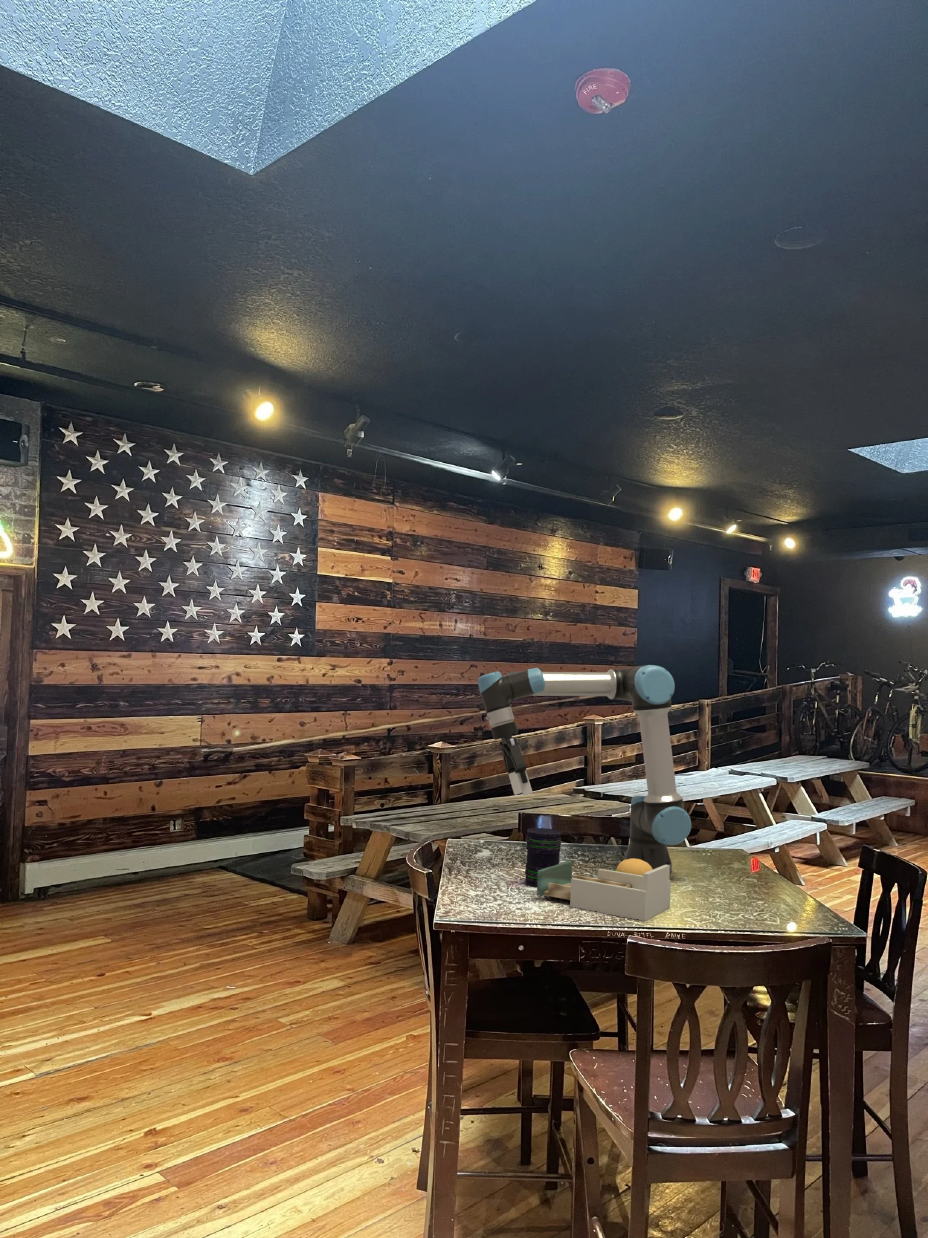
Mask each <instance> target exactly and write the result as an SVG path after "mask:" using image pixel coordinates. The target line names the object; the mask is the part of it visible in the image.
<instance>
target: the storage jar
mask: <svg viewBox="0 0 928 1238" xmlns="http://www.w3.org/2000/svg"><path fill="white" fill-rule="evenodd" d="M526 832H527V835H526V848H525V849H526V853H527V854H526V863H525V869H524V875H525V877H524V878H525V881H524V885H526V886H528V885H529V887H532V888H536V887H537V882H538V870H541V869H545V868H548V867H551V866H554V865H558V864H560V853H561V845H562V837H561V835H562V831H560V830H557V829H553V828H545V827H544V828H543V827H535V828H534V827H533V828H532V827H531V828H528V829H527V831H526Z"/></svg>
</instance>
